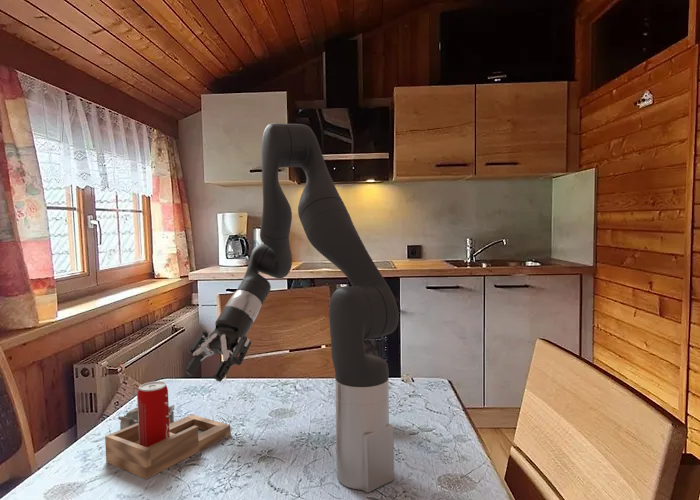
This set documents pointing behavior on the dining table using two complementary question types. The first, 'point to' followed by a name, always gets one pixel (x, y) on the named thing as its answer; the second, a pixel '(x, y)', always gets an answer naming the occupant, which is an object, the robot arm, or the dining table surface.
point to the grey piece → (132, 417)
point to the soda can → (153, 413)
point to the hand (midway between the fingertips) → (202, 376)
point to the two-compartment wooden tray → (162, 445)
